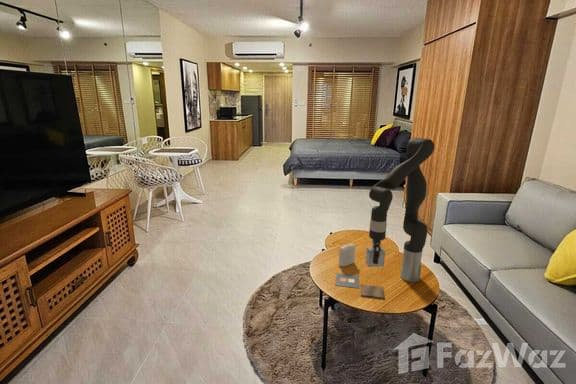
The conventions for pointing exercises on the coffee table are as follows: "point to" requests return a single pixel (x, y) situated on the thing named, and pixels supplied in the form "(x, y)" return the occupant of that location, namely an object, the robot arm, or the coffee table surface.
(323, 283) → the coffee table surface
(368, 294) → the walnut mat
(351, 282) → the tile
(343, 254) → the photo printer
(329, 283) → the coffee table surface
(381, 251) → the medicine box
